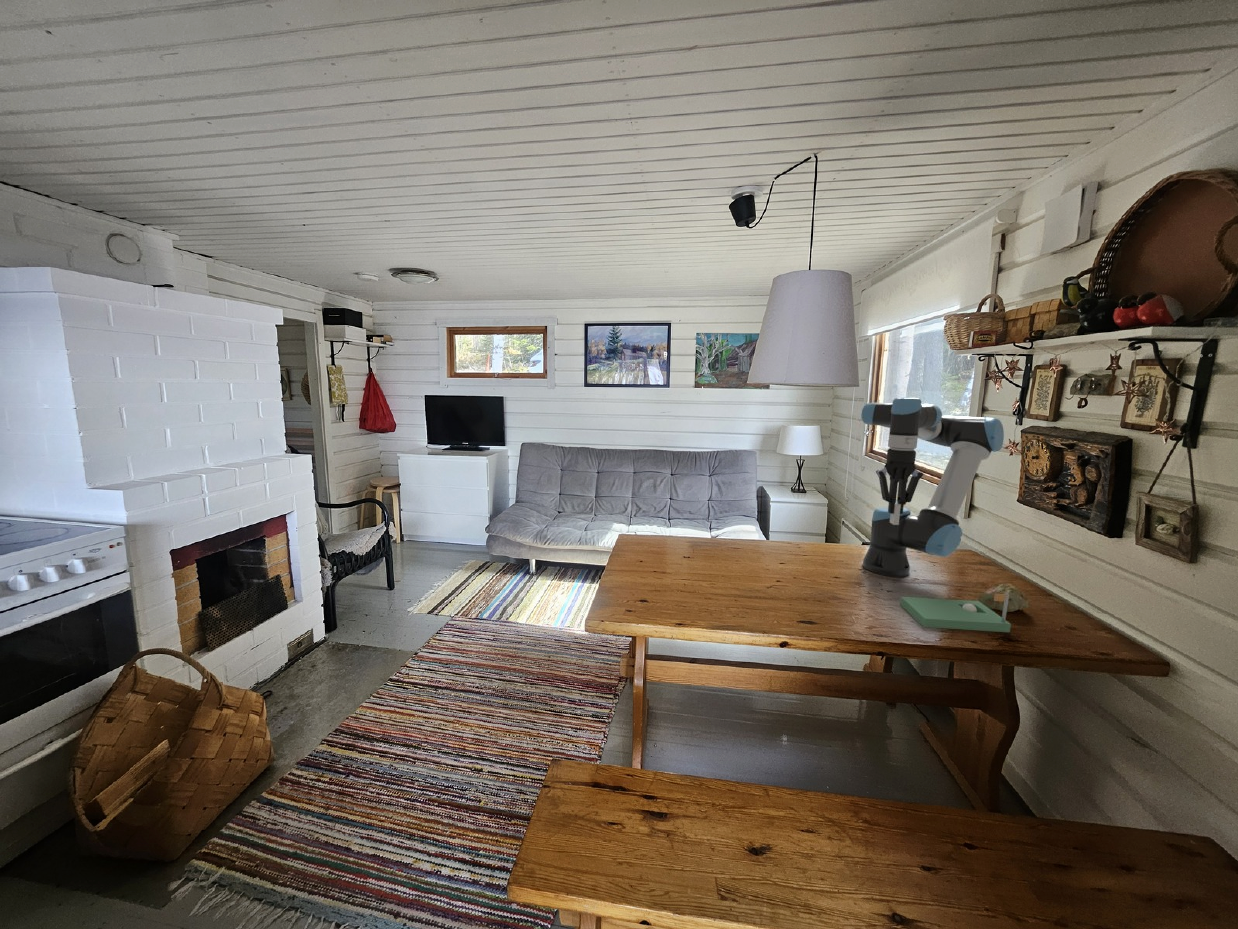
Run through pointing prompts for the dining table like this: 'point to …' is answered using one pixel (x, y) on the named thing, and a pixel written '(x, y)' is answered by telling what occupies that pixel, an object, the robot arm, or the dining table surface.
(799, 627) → the dining table surface
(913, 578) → the dining table surface
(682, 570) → the dining table surface
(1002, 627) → the green
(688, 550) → the dining table surface
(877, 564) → the robot arm
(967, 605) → the ball
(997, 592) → the rock
